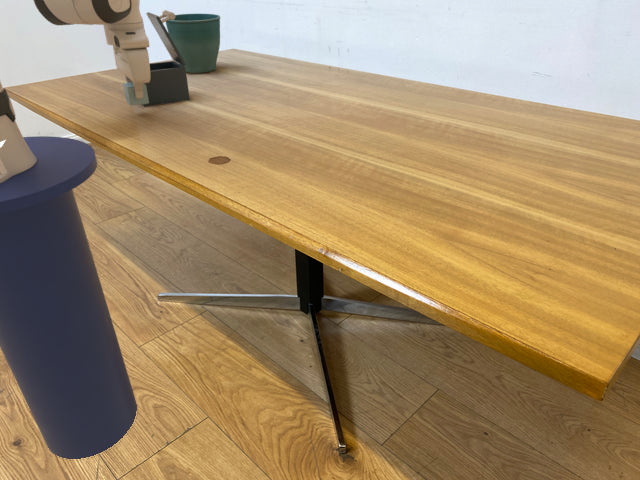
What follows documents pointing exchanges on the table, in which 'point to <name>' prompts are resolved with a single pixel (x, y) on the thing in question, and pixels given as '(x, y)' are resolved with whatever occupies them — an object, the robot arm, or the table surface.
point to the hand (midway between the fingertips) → (136, 95)
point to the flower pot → (196, 40)
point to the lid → (166, 34)
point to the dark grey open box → (167, 83)
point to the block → (131, 96)
